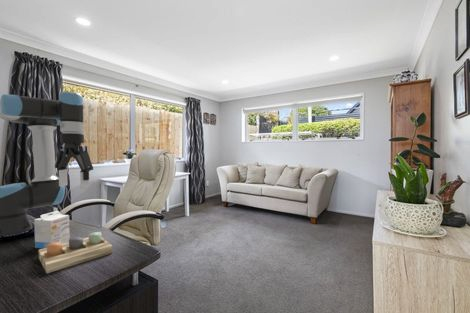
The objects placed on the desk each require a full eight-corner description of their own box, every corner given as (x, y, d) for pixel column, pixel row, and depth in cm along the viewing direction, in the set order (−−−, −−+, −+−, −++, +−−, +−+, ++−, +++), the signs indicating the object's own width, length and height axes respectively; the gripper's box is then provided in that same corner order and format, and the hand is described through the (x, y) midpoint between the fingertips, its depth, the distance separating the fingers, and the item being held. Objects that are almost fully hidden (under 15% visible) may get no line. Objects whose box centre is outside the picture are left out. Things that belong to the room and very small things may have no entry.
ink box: (51, 249, 93) (50, 216, 92) (34, 247, 95) (33, 215, 94) (70, 241, 101) (69, 210, 101) (54, 239, 103) (53, 209, 103)
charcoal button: (67, 247, 88) (67, 238, 88) (81, 243, 91) (81, 235, 91) (70, 250, 85) (70, 242, 85) (84, 246, 88) (84, 238, 88)
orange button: (45, 252, 83) (45, 244, 83) (60, 248, 86) (60, 240, 86) (48, 256, 80) (47, 247, 80) (63, 252, 83) (63, 243, 83)
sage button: (87, 241, 93) (87, 234, 92) (99, 238, 96) (99, 231, 96) (90, 245, 90) (90, 236, 89) (103, 241, 93) (103, 233, 93)
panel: (38, 257, 86) (38, 249, 86) (98, 241, 101) (98, 234, 101) (46, 273, 75) (46, 264, 75) (112, 252, 90) (112, 245, 90)
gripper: (43, 133, 92) (44, 186, 93) (82, 132, 82) (84, 191, 83) (63, 134, 99) (65, 183, 100) (102, 133, 89) (103, 188, 90)
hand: (73, 187), depth 92 cm, fingers open, 13 cm apart
